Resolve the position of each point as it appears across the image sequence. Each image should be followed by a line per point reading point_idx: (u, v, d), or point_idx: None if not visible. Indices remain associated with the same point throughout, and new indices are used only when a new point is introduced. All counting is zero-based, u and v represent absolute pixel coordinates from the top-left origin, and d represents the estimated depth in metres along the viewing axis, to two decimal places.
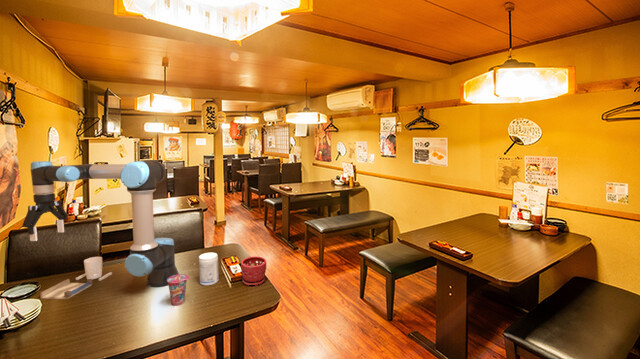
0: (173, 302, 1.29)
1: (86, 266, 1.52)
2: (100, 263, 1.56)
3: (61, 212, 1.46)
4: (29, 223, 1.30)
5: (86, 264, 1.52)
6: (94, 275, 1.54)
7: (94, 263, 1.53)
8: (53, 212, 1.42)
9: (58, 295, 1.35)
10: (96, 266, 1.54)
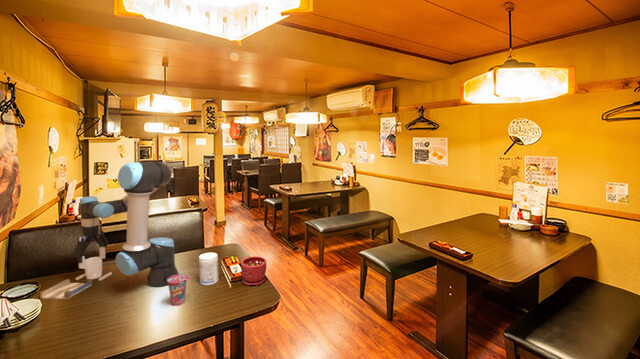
0: (173, 302, 1.29)
1: (86, 266, 1.52)
2: (100, 263, 1.56)
3: (103, 240, 1.63)
4: (79, 253, 1.46)
5: (86, 264, 1.52)
6: (94, 275, 1.54)
7: (94, 263, 1.53)
8: (97, 241, 1.59)
9: (58, 295, 1.35)
10: (96, 266, 1.54)
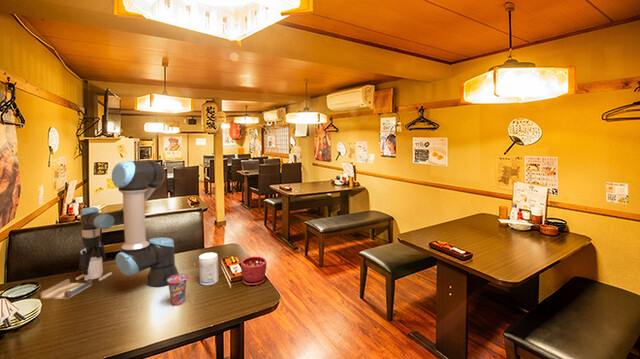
0: (173, 302, 1.29)
1: None
2: (100, 263, 1.56)
3: (101, 254, 1.62)
4: (84, 265, 1.49)
5: None
6: (94, 275, 1.54)
7: (94, 263, 1.53)
8: (96, 253, 1.58)
9: (58, 295, 1.35)
10: (96, 266, 1.54)
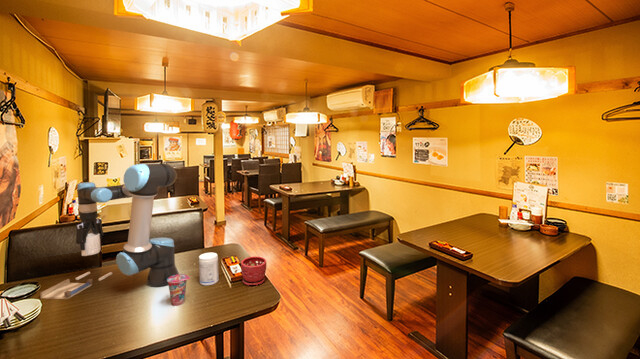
0: (173, 302, 1.29)
1: None
2: (97, 239, 1.54)
3: (99, 230, 1.59)
4: (81, 240, 1.47)
5: None
6: (91, 251, 1.52)
7: (91, 239, 1.51)
8: (93, 229, 1.56)
9: (58, 295, 1.35)
10: (93, 242, 1.52)
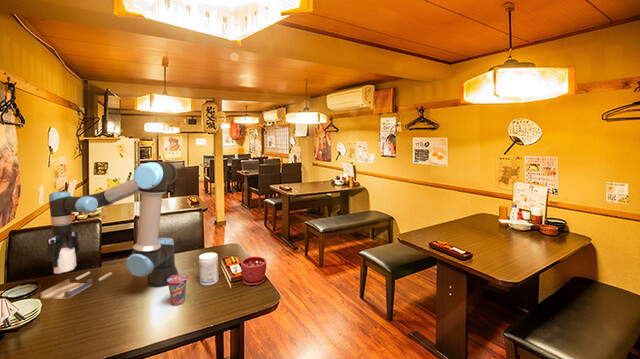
0: (173, 302, 1.29)
1: None
2: (72, 254, 1.39)
3: (75, 244, 1.45)
4: (53, 257, 1.32)
5: None
6: (64, 268, 1.37)
7: (65, 254, 1.36)
8: (68, 243, 1.41)
9: (58, 295, 1.35)
10: (67, 257, 1.37)
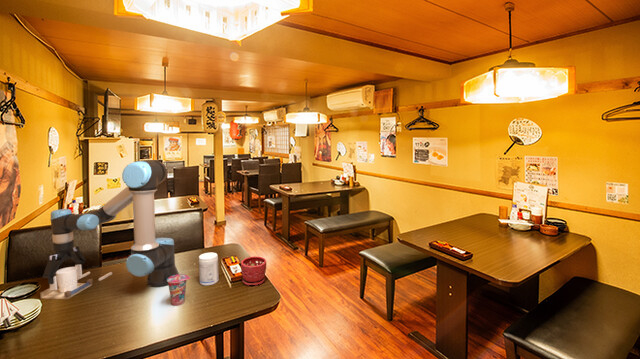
0: (173, 302, 1.29)
1: (58, 278, 1.37)
2: (75, 274, 1.41)
3: (79, 257, 1.47)
4: (49, 273, 1.31)
5: (58, 275, 1.36)
6: (67, 288, 1.38)
7: (68, 274, 1.38)
8: (72, 258, 1.43)
9: (58, 295, 1.35)
10: (70, 277, 1.38)
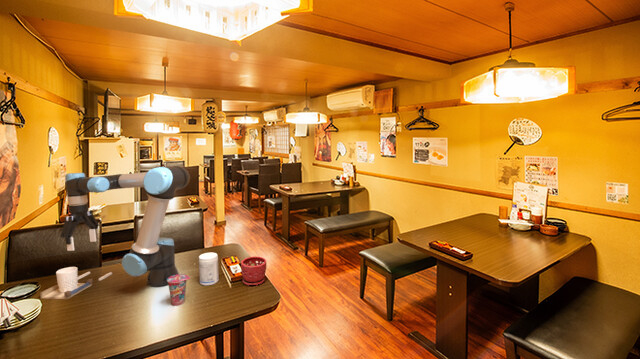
0: (173, 302, 1.29)
1: (59, 278, 1.37)
2: (75, 274, 1.41)
3: (93, 222, 1.50)
4: (67, 233, 1.34)
5: (58, 275, 1.36)
6: (68, 288, 1.38)
7: (68, 274, 1.38)
8: (86, 222, 1.46)
9: (58, 295, 1.35)
10: (70, 278, 1.38)
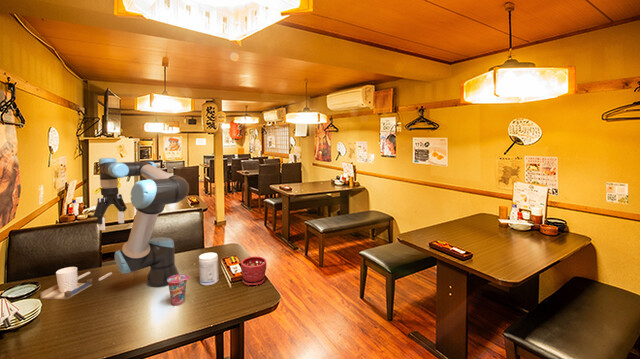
0: (173, 302, 1.29)
1: (59, 278, 1.37)
2: (75, 274, 1.41)
3: (121, 204, 1.60)
4: (99, 214, 1.43)
5: (58, 275, 1.36)
6: (68, 288, 1.38)
7: (68, 275, 1.38)
8: (116, 204, 1.56)
9: (58, 295, 1.35)
10: (70, 278, 1.38)
